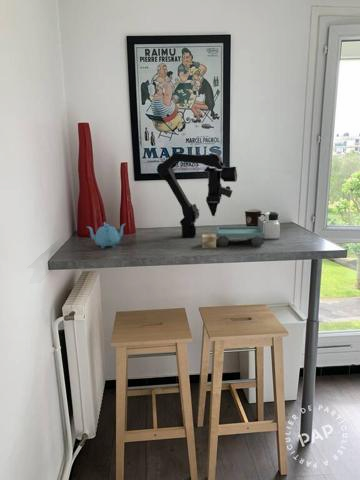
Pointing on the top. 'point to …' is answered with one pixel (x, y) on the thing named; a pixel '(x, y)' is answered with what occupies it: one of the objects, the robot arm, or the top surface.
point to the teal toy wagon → (241, 234)
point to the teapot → (107, 235)
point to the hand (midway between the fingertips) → (214, 214)
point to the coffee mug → (252, 217)
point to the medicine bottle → (271, 226)
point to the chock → (209, 241)
